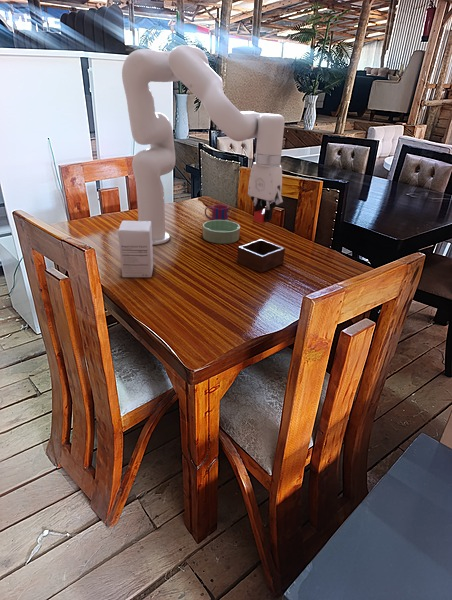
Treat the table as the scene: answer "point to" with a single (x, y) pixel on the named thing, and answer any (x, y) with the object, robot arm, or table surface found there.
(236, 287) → the table surface
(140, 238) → the white product box
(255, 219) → the red small block
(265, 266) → the box
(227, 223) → the bowl
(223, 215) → the mug
